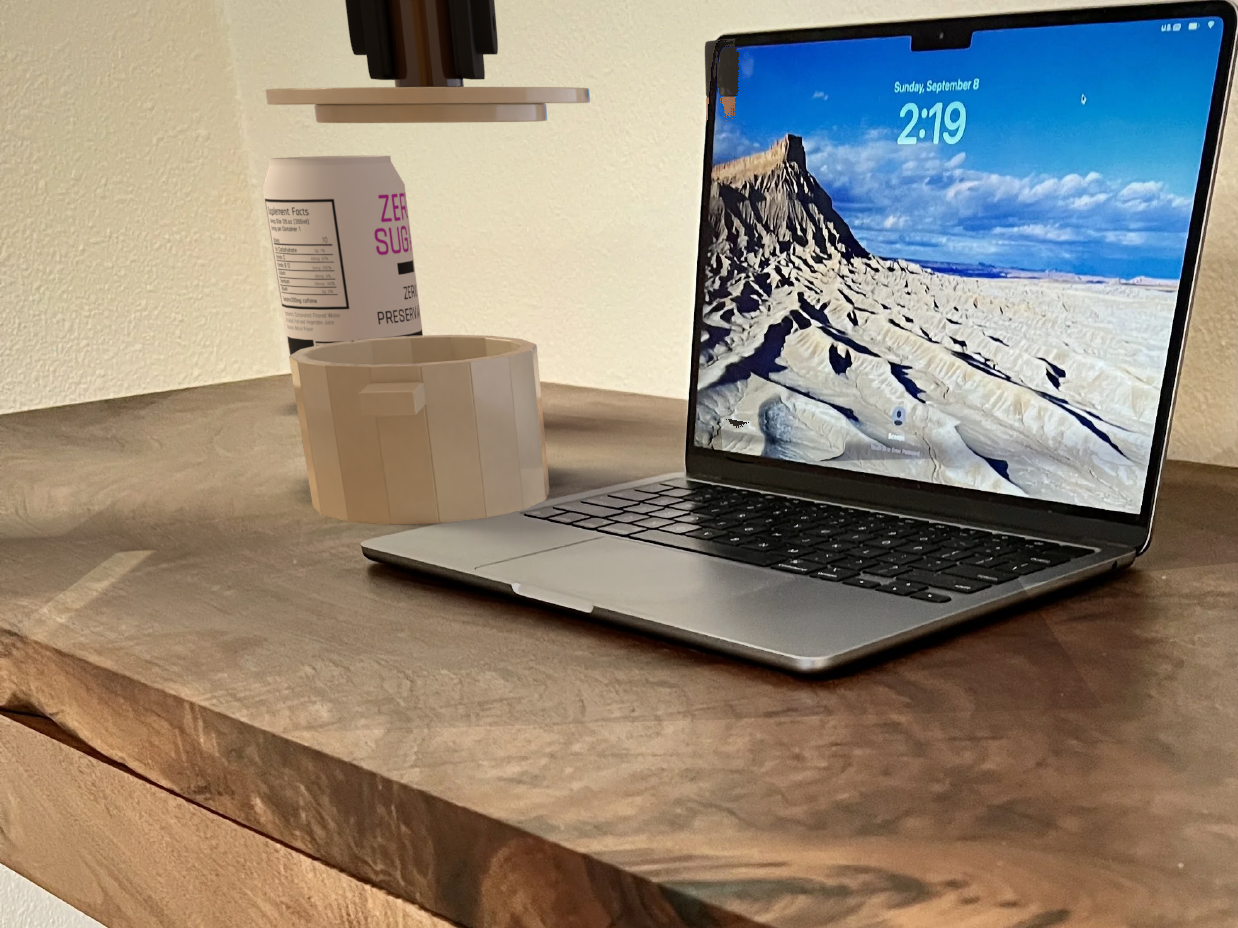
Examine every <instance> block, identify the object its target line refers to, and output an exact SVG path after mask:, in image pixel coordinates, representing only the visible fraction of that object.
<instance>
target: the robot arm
mask: <svg viewBox="0 0 1238 928" xmlns="http://www.w3.org/2000/svg"><path fill="white" fill-rule="evenodd" d="M344 2H345V9H346V10H345V11H346V18H347V27H348V35H349V36H348V37H349V41H350V47H351V51H352V53H353V55H354V56H366V63H367V71H368V75H369V78H370V79H371V80H377V81H394V71H393V62H392V53H391V44H390V35H389V26H388V17H387V8H386V0H344ZM449 9H450V20H451V30H452V41H453V51H454V62H455V70H456V74H457V75H461V77H462V79H463V80H470V81H471V80H485V78H486V71H485V58H484V55H488V56H489V55H492V56H493V55H498V53H499V41H498V27H497V16H496V4H495V0H449Z"/></svg>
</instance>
